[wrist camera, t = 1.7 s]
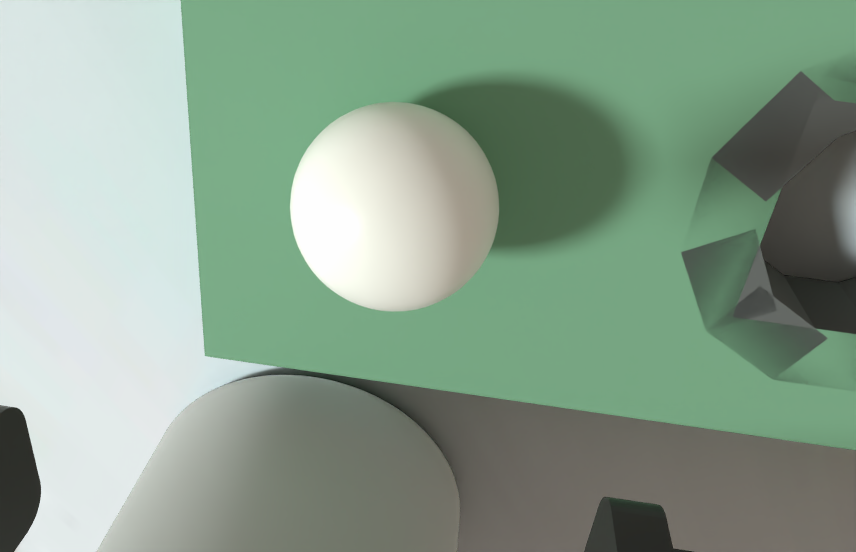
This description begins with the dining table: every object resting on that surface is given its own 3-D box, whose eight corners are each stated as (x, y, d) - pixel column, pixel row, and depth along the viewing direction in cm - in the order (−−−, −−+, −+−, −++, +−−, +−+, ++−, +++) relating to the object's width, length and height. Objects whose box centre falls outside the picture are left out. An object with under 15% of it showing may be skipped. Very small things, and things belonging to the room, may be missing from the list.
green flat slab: (214, -182, 19) (168, -184, 16) (1221, -60, 18) (1336, -41, 16) (234, 305, 27) (204, 356, 24) (938, 405, 26) (985, 468, 23)
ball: (319, 63, 19) (262, 132, 15) (515, 89, 19) (514, 166, 15) (314, 235, 22) (265, 337, 17) (486, 259, 21) (479, 367, 17)
